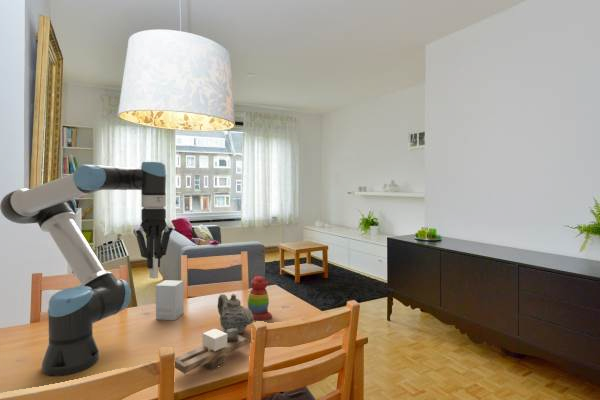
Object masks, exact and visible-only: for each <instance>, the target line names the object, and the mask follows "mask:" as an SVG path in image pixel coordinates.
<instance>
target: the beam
mask: <svg viewBox="0 0 600 400" xmlns="http://www.w3.org/2000/svg"><path fill="white" fill-rule="evenodd" d="M225 333H227V346H226V347H223V348H221V349H219V350H217V351H213V350H210V351H208V348H207V347H205V346H203V345H201V346H200V347H198V348H194V349H192V350H190V351H187V352H184V353H183V354H179V355H178V356H176V357H174V358H175V367H174V368H175V369H176V370H178V371H180V372H181V373H183V374H184V375H185V374H187V373H188V372H191V371H193V370H196V369H197V368H199V367H202V366H204V367H206V368H207V369H209V368H210V369H209V370H211V371H213V370H215V369H218V368H219V367H218V366H220V367H222V366H224V365H225V363H226V355H227V354H230V353H231V352H234V351H236V350H238V349H240V348H242V347H244V346H247V345H248V338H247V337H244V336H242V335H240V334H239V333H238V329H235V328H231V329H228V330H227V331H225ZM223 364H224V365H223ZM221 365H222V366H221ZM214 368H215V369H214ZM212 369H213V370H212Z"/></svg>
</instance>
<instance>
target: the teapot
mask: <svg viewBox="0 0 600 400" xmlns="http://www.w3.org/2000/svg"><path fill="white" fill-rule="evenodd" d="M241 303H242V302H241V299H239V298H237V295H236V294H234V293H232V294H231V296H230V298H229V297H228V296H227V294H224V293H221V294H220V295H219V296H218V298H217V310H218V311H217V312H218V314H219V321H220V326H221V327H222V328H223V329H224V331H225V332H226V331H227V330H228V329H231V328H235V329H238V335H240V334H242V333H244V332H245V330H246V329H247V327H248V326H249V325H251V324H252V323H254V320H255V319H253V318H254V317H253V314H252V312H251V310H249V309H248V307H245V306H242V305H241Z"/></svg>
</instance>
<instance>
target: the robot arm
mask: <svg viewBox="0 0 600 400" xmlns="http://www.w3.org/2000/svg"><path fill="white" fill-rule="evenodd" d="M166 184H167V170H166V164H165V163H164V162H161V161H149V160H148V161H142V162H141V166H140V167H123V166H113V165H112V166H109V165H98V164H81V165H79V166H77V167H76V169H75V170H74V171H73V173H70V174H68V175H65V176H62V177H60V178H57V179H54V180H51V181H48V182H45V183H43V184H39V185H37V186H34V187H31V188H20V189H19V188H18V189H16V190H13V191H11V192H9V193H8V194H6V195H4V196H3V198H2V199H1V201H0V212H1V214H2V216H3V217H4V218H6V219H7V220H9V221H10V222H12V223H16V224H22V225H23V224H25V225H27V224H37V225H38V226H39V228H40V230H41V231H42V232H46V233H49V235H50V237H52V239H53V242H55V244H56V246H57V248H58V249H59V251H60V252H61V254H62V257H64V259H65V260H66V262H67V263H68V266H69V267H70V269H71V270H72V272H73V274H74V275H75V277H76V279H77V280H78V282H79V284H80V285H77V286H74V287H68V288H64V289H62V290H59V291H57V292H56V293H54V294H53V295H52V296H51V297H50V299H49V300H48V308H47V315H48V346H47V349H46V351H45V353H44V355H43V359H42V362H41V372H42V371H43V372H44V373H45V374H44V373H43V372H42V373H43V374H44V375H46V374H48V375H47V376H51V375H60V376H66V374H67V375H71V373H72V374H76V373H79V372H81V371H84V370H86V369H89V368H90V367H92V366H93V365H95V364H96V363H97V362H98V361H99V357H100V354H99V353H100V350H99V347H98V346H97V343H96V340H95V338H94V336H93V335H94V334H93V324H95V323H98V322H99V321H102V320H104V319H106V318H109V317H111V316H115V315H116V314H118V313H119V312H121V311H122V312H123V310H125V309H126V308H127V307H128V305H130V302H131V296H132V290H131V288H130V285H129V283H128V282H127V281H126V280H125V279H122V278H116V276H115V275H114V274H113V272H110V271H107V270H105V267H103V265H102V264H101V261H100V259H99V258H98V257H97V255H96V254H95V253H94V251H93V249H92V247H91V246H90V245H89V242H88V241H87V239H86V238H85V236H84V235H83V233H82V232H81V230H80V228H79V227H78V225H77V224H76V222H75V221H76V219H77V215H76V214H77V212H78V208H77V202H76V199H77V198H80V197H84V196H86V195H89V194H93V193H96V192H98V191H103V190H105V191H108V190H109V191H114V190H117V191H123V190H124V191H127V190H128V191H130V190H131V191H138V190H139V191H140V192H141V208H142V209H141V223H140V225H139V226H140V227H138V228H137V229H133V234H134V235H135V236H136V240H137V245H138V248H139V252H140V256H141V257H142V258H144V259H146V260H147V265H146V266H147V267H146V268H147V269H149V278H151V279H158V277H159V268H160V266H161V259H162V258H163V257H164V256H165V255H166V254H167V250H168V245H169V240H170V236H171V233H172V231H174V227H171V226H169V225H167V221H166V217H167V209H166V208H165V207H167V206H166V205H167V203H166V202H167V201H166V200H167V198H166V197H167V193H166V187H167V185H166ZM143 234H145V237H144V235H143ZM145 240H146V241H145ZM75 372H76V373H75Z"/></svg>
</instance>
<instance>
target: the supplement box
mask: <svg viewBox="0 0 600 400" xmlns="http://www.w3.org/2000/svg"><path fill="white" fill-rule="evenodd" d="M184 283H185V282H184V280H171V279H164V280H163V281H161V282H159V283H157V284H156V285H155V320H159V321H160V320H161V321H162V320H163V321H177V319H178V318H180V317H181V316H182V315H183V314H184V312H185V309H184V306H185V305H184V304H185V303H184V301H185V298H184V297H185V295H184V294H185V292H184V291H185V290H184V285H185V284H184Z"/></svg>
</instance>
